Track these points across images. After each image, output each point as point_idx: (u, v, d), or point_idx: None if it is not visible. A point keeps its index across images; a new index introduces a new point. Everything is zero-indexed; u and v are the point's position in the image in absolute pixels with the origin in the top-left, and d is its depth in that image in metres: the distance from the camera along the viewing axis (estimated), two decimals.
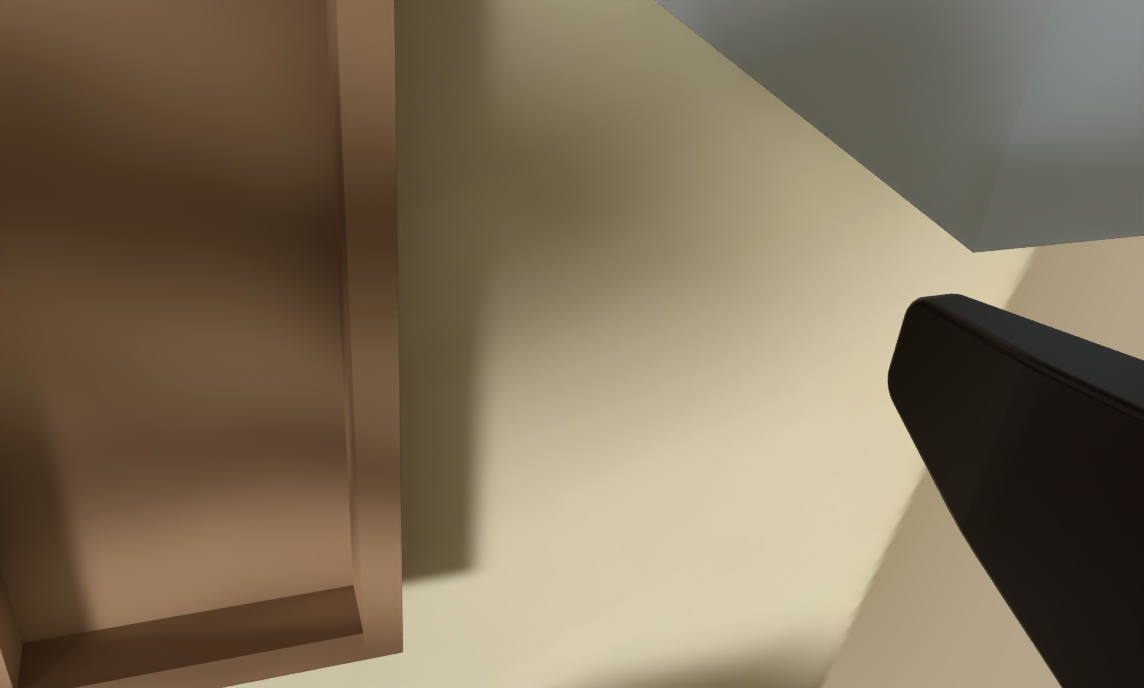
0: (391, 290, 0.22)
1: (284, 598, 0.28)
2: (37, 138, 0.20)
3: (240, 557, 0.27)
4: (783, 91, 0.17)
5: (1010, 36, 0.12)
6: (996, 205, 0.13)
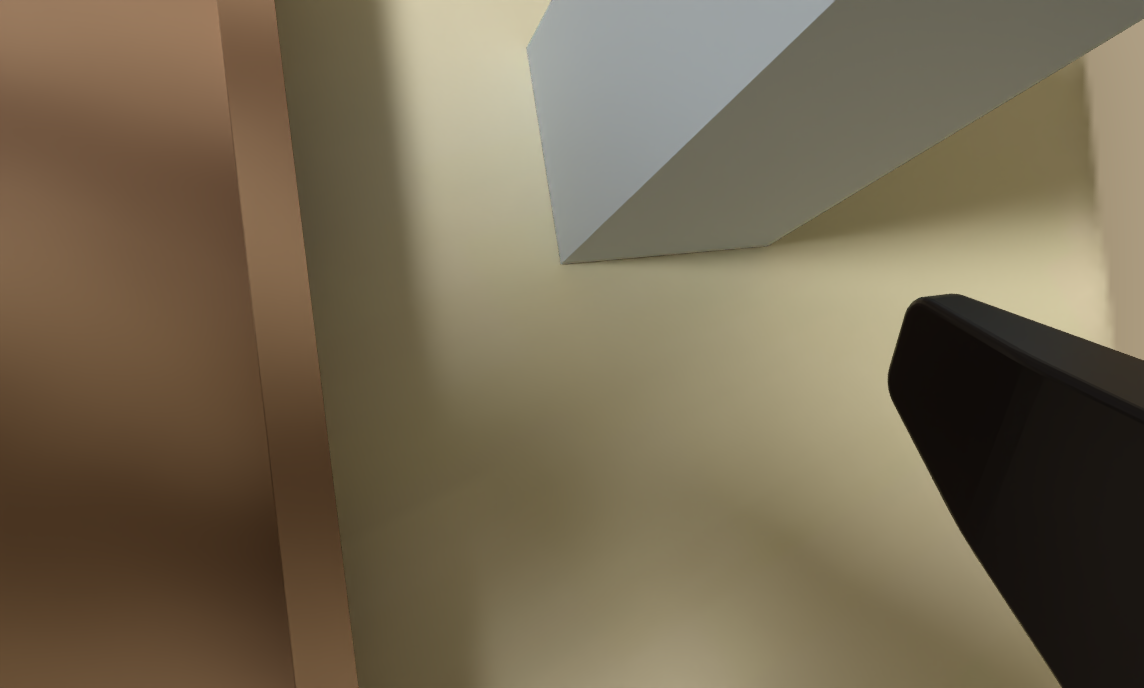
0: (334, 563, 0.18)
1: None
2: None
3: None
4: (674, 144, 0.17)
5: None
6: None
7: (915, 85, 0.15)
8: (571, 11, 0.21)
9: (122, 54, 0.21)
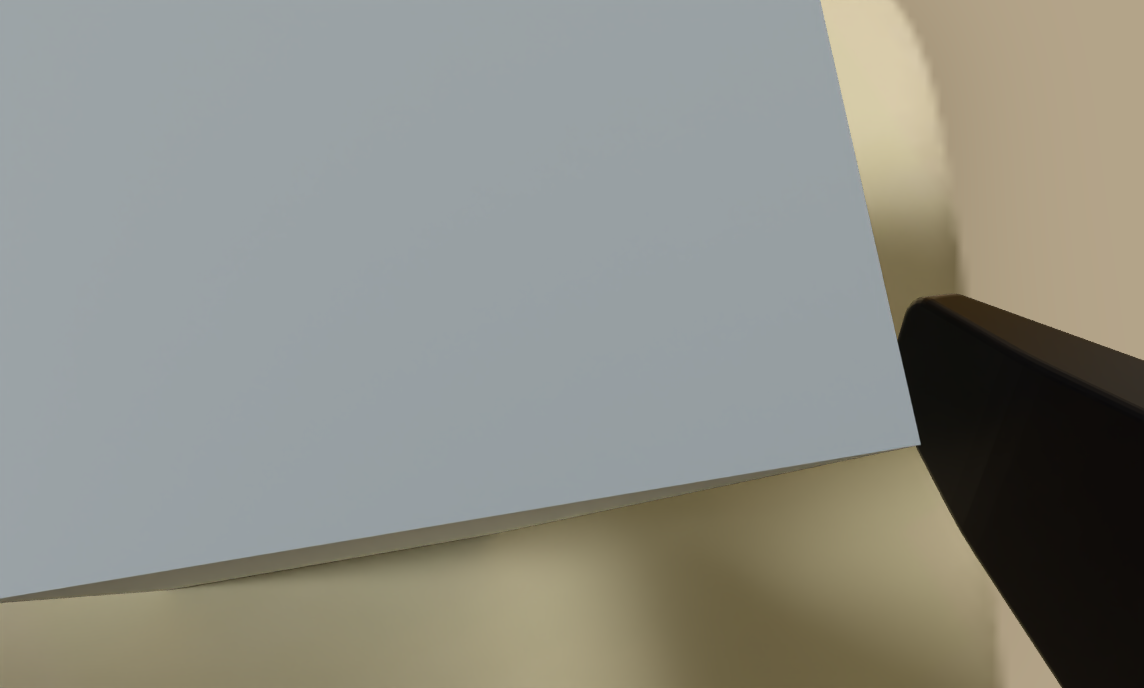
0: None
1: None
2: None
3: None
4: None
5: None
6: None
7: (461, 530, 0.08)
8: None
9: None
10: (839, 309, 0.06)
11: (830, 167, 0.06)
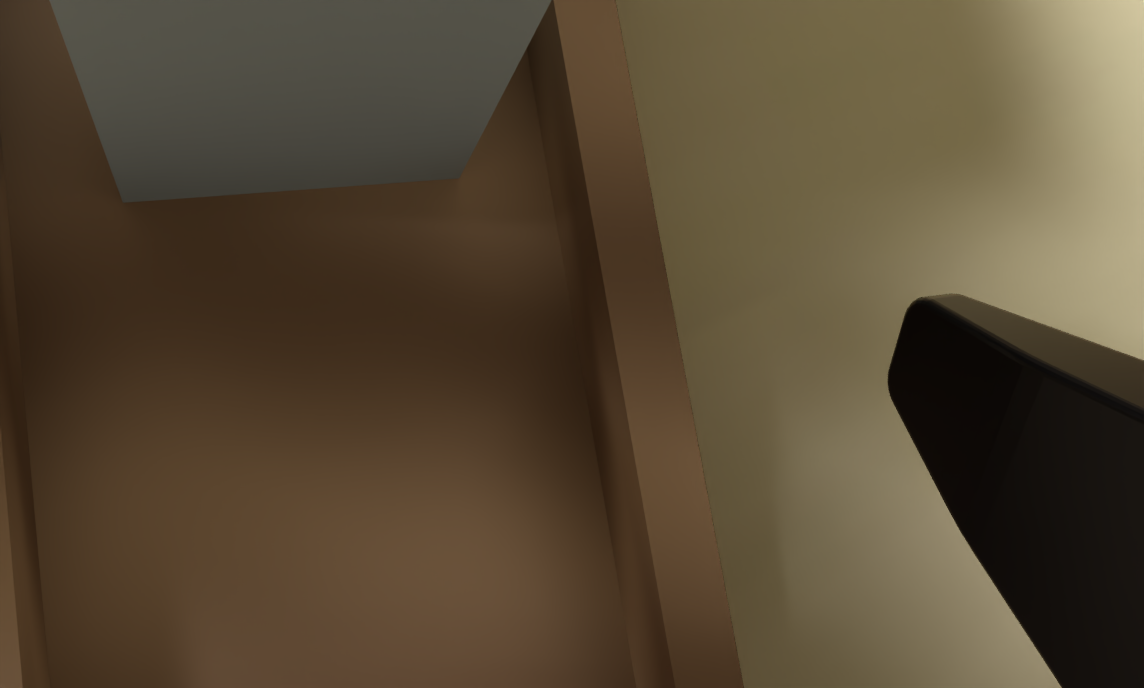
0: (671, 352, 0.16)
1: None
2: (208, 228, 0.16)
3: None
4: None
5: None
6: None
7: None
8: None
9: None
10: None
11: None
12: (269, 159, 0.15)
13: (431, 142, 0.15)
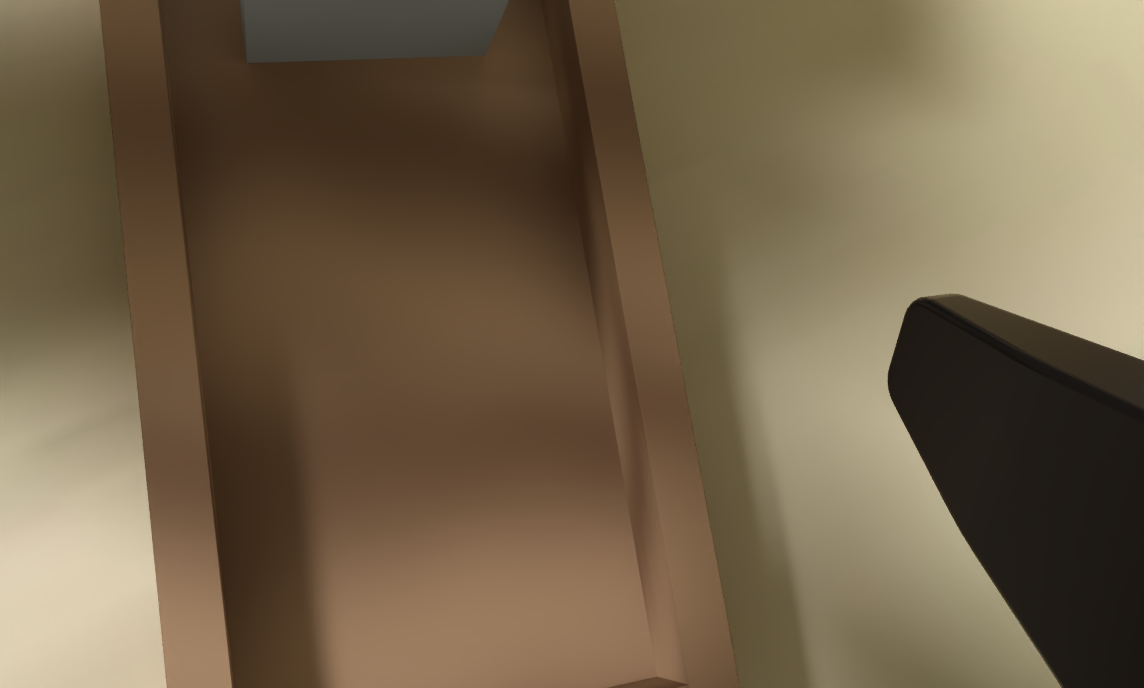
0: (638, 171, 0.22)
1: None
2: (306, 83, 0.22)
3: (513, 618, 0.21)
4: None
5: None
6: None
7: None
8: None
9: None
10: None
11: None
12: (353, 28, 0.21)
13: (467, 19, 0.22)
